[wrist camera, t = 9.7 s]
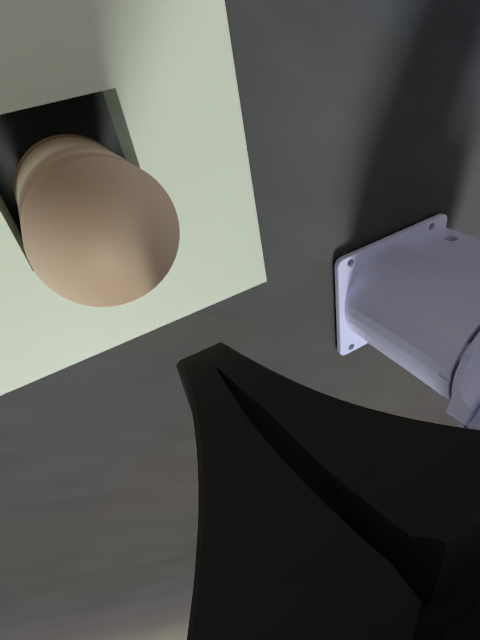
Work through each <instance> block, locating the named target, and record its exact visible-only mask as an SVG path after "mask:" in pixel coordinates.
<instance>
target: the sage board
mask: <svg viewBox="0 0 480 640" xmlns="http://www.w3.org/2000/svg"><path fill="white" fill-rule="evenodd" d="M99 91H103V94H104V98H105V101H106V104H107V107H108V110H109V113H110V116H111V119H112V122H113V125H114V128H115V131H116V134H117V137H118V140H119V144H120V147H121V150H122V153H123V156H124V159H125V160H127V161H128V162H130V163H132V164H134V165H135V166H137V167H139V168H140V169H142V170H144V171H145V172H147V173H148V174H150V175H151V176H152V177H153V178H154V179H156V180H157V181H158V182H159V184H160V185H161V186H162V187H163V188H164V189H165V191H166V192H167V194H168V195H169V197H170V199H171V200H172V202H173V204H174V207H175V210H176V212H177V216H178V220H179V228H180V240H179V247H178V251H177V255H176V258H175V260H174V263H173V265H172V267H171V268H170V270H169V272H168V273H167V275H166V276H165V277H164V279H163V280H162V281H161V282H160V283H159V284H158V285H157V286H156V287H155V288H154V289H153V290H151V291H150V292H149V293H147V294H146V295H144V296H142V297H140V298H138V299H136V300H134V301H132V302H129V303H126V304H122V305H118V306H111V307H94V306H86V305H82V304H78V303H75V302H72V301H70V300H68V299H66V298H64V297H62V296H60V295H58V294H57V293H55V292H54V291H52V290H51V289H50V288H49V287H48V286H46V285H45V284H44V283H43V282H42V280H41V279H40V278H39V277H38V276H37V274H36V273H35V272H34V270H33V269H32V267H31V265H30V263H29V261H28V259H27V256H26V253H25V250H24V246H23V240H22V235H21V233H20V231H19V229H18V227H17V226H16V224H15V222H14V220H13V218H12V216H11V214H10V212H9V210H8V209H7V207H6V205H5V203H4V201H3V199H2V197H1V195H0V396H1V395H3V394H5V393H8V392H10V391H12V390H15V389H17V388H19V387H22V386H24V385H26V384H29V383H31V382H33V381H36V380H38V379H40V378H43V377H45V376H47V375H50V374H52V373H54V372H57V371H59V370H61V369H64V368H66V367H68V366H70V365H73V364H75V363H77V362H80V361H82V360H84V359H87V358H89V357H91V356H94V355H96V354H98V353H101V352H103V351H105V350H108V349H110V348H112V347H115V346H117V345H119V344H122V343H124V342H126V341H129V340H131V339H133V338H136V337H138V336H140V335H143V334H145V333H147V332H150V331H152V330H154V329H157V328H159V327H161V326H164V325H166V324H168V323H171V322H173V321H175V320H177V319H180V318H182V317H184V316H187V315H189V314H191V313H194V312H196V311H198V310H201V309H203V308H205V307H208V306H210V305H212V304H215V303H217V302H219V301H222V300H224V299H226V298H229V297H231V296H233V295H236V294H238V293H240V292H243V291H245V290H247V289H250V288H252V287H254V286H257V285H259V284H261V283H264V282H266V281H267V279H266V273H265V266H264V260H263V253H262V246H261V240H260V233H259V226H258V220H257V213H256V207H255V200H254V193H253V187H252V180H251V173H250V167H249V160H248V154H247V147H246V140H245V134H244V127H243V120H242V114H241V107H240V101H239V94H238V87H237V81H236V74H235V67H234V61H233V54H232V47H231V41H230V34H229V28H228V21H227V14H226V8H225V1H224V0H0V115H1V114H5V113H9V112H14V111H18V110H22V109H26V108H31V107H35V106H39V105H44V104H48V103H52V102H57V101H61V100H65V99H69V98H74V97H78V96H82V95H87V94H91V93H95V92H99Z"/></svg>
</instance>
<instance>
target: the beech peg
mask: <svg viewBox="0 0 480 640" xmlns="http://www.w3.org/2000/svg"><path fill="white" fill-rule="evenodd" d="M14 192H15V198H16V202H17V205H18V210H19V217H20V225H21V233H22V240H23V246H24V250H25V253H26V256H27V259H28V261H29V263H30V265H31V267H32V269H33V270H34V272H35V273H36V274H37V276H38V277H39V278H40V279H41V280H42V282H43V283H44V284H45V285H46V286H48V287H49V288H50V289H51V290H52V291H54V292H55V293H57V294H58V295H60V296H62V297H64V298H66V299H68V300H70V301H72V302H75V303H78V304H82V305H86V306H94V307H111V306H118V305H122V304H126V303H129V302H132V301H134V300H136V299H138V298H140V297H142V296H144V295H146V294H147V293H149V292H150V291H151V290H153V289H154V288H155V287H156V286H157V285H158V284H159V283H160V282H161V281H162V280H163V279H164V277H165V276H166V275H167V273H168V272H169V270H170V268H171V267H172V265H173V263H174V260H175V258H176V255H177V251H178V247H179V240H180V228H179V220H178V216H177V212H176V210H175V207H174V204H173V202H172V200H171V199H170V197H169V195H168V194H167V192H166V191H165V189H164V188H163V187H162V186H161V185H160V184H159V182H158V181H157V180H156V179H154V178H153V177H152V176H151V175H150V174H148V173H147V172H145V171H144V170H142V169H140V168H139V167H137V166H135V165H134V164H132V163H130V162H128V161H127V160H125V159H123V158H122V157H120V156H118V155H116V154H115V153H113V152H111V151H110V150H109V149H108V148H107V147H105V146H103V145H102V144H100V143H99V142H97V141H95V140H92V139H90V138H87V137H84V136H80V135H75V134H60V135H54V136H50V137H47V138H45V139H42V140H41V141H39V142H37V143H36V144H34V145H33V146H32V147H30V148H29V149H28V151H27V152H26V153H25V154H24V155H23V157H22V158H21V160H20V162H19V164H18V166H17V169H16V173H15V178H14Z"/></svg>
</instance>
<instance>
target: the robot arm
mask: <svg viewBox="0 0 480 640" xmlns="http://www.w3.org/2000/svg"><path fill="white" fill-rule="evenodd" d="M446 225H447V216H446V215H445V214H437V215H435V216H433V217H431V218H428V219H426V220H424V221H421V222H419V223H417V224H415V225H412V226H410V227H408V228H405V229H403V230H401V231H399V232H396V233H394V234H392V235H389V236H387V237H385V238H383V239H380V240H378V241H376V242H373V243H371V244H369V245H367V246H364V247H362V248H360V249H357V250H355V251H353V252H350V253H348V254H346V255H344V256H341V257H340V258H338V259H337V261H336V263H335V292H336V322H337V350H338V352H339V353H340V354H341V355H346V354H348V353H350V352H352V351H353V350H355V349H357V348H359V347H361V346H363V345H365V344H367V343H369V344H371V345H372V346H373V347H375V348H376V349H378V350H379V351H381V352H382V353H383V354H385V355H386V356H388V357H389V358H390V359H392V360H393V361H395V362H396V363H398V364H399V365H400V366H402V367H403V368H405V369H406V370H407V371H409V372H410V373H412V374H413V375H414V376H416V377H417V378H419V379H420V380H422V381H423V382H424V383H426V384H427V385H429V386H430V387H431V388H433V389H434V390H436V391H437V392H439V393H440V394H441V395H443V396H444V397H446V398H447V399H448V400H450V403H449V405H448V407H447V409H446V412H447V413H449V414H450V415H451V416H453V417H454V418H455V419H457V420H458V421H459V422H461V423H460V425H459V427H453V426H447V425H441V424H435V423H430V422H425V421H419V420H414V419H410V418H405V417H400V416H396V415H392V414H388V413H384V412H380V411H377V410H373V409H369V408H365V407H362V406H358V405H355V404H352V403H349V402H346V401H343V400H340V399H337V398H334V397H331V396H328V395H326V394H323V393H321V392H318V391H315V390H313V389H311V388H308V387H306V386H304V385H301V384H299V383H297V382H295V381H292V380H290V379H288V378H286V377H284V376H282V375H280V374H278V373H276V372H274V371H272V370H270V369H268V368H266V367H264V366H262V365H260V364H258V363H256V362H255V361H253V360H251V359H249V358H247V357H246V356H244V355H242V354H240V353H239V352H237V351H235V350H234V349H232V348H230V347H228V346H227V345H225V344H223V343H221V342H220V343H218V344H216V345H214V346H211V347H209V348H207V349H205V350H202V351H200V352H198V353H196V354H193V355H191V356H189V357H187V358H185V359H182V360H180V361H179V362H178V364H177V366H176V367H177V369H178V372H179V375H180V378H181V381H182V384H183V387H184V390H185V393H186V396H187V399H188V402H189V405H190V408H191V411H192V414H193V420H194V427H195V436H196V445H197V458H198V480H199V512H198V536H197V550H196V565H195V577H194V588H193V596H192V604H191V612H190V620H189V628H188V636H187V640H480V239H479V238H476V237H473V236H470V235H467V234H464V233H461V232H458V231H455V230H452V229H449V228H446ZM349 260H350V261H349ZM348 261H349V263H348Z"/></svg>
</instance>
